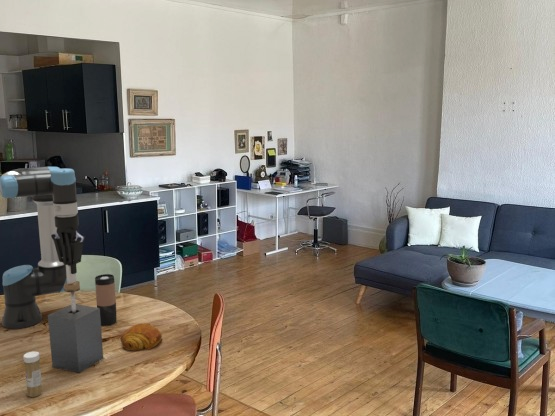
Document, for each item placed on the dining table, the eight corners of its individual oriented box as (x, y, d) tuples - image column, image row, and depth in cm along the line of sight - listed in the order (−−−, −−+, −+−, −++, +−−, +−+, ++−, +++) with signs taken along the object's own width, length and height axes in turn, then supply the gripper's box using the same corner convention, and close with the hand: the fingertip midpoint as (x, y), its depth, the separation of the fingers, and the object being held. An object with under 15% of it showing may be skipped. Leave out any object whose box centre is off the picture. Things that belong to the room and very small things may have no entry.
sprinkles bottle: (24, 394, 175) (20, 354, 173) (38, 388, 179) (34, 349, 176) (31, 399, 172) (27, 358, 170) (45, 393, 176) (41, 353, 173)
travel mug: (120, 319, 236) (117, 274, 232) (113, 326, 228) (109, 279, 224) (102, 319, 236) (99, 273, 233) (95, 326, 229) (91, 279, 225)
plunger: (57, 342, 193) (52, 285, 189) (75, 332, 201) (71, 277, 197) (76, 346, 189) (72, 288, 185) (95, 336, 197) (90, 280, 193)
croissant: (115, 354, 208) (111, 335, 206) (139, 332, 222) (135, 314, 220) (148, 358, 203) (145, 339, 201) (170, 336, 217) (167, 318, 215)
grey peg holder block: (52, 366, 194) (47, 315, 190) (77, 352, 204) (73, 303, 201) (79, 373, 189) (74, 320, 185) (103, 358, 200) (99, 308, 196)
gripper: (42, 215, 186) (49, 283, 190) (73, 218, 181) (78, 288, 185) (59, 211, 193) (65, 277, 197) (89, 214, 187) (94, 281, 192)
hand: (71, 282), depth 191 cm, fingers closed
